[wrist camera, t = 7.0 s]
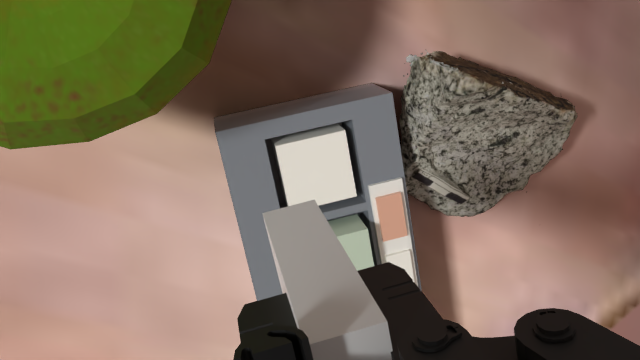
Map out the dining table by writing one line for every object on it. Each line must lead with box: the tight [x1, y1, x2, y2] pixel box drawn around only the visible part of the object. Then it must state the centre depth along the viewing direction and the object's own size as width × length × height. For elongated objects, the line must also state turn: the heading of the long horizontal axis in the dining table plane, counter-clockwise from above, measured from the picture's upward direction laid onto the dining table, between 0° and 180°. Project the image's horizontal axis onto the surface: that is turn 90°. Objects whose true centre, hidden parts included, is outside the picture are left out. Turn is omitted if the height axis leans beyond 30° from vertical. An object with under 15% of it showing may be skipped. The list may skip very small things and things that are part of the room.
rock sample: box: [400, 51, 577, 217], centre depth 29 cm, size 10×8×9 cm
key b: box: [328, 214, 374, 271], centre depth 28 cm, size 3×3×2 cm
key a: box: [271, 123, 357, 207], centre depth 28 cm, size 3×3×2 cm
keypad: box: [214, 83, 422, 301], centre depth 30 cm, size 14×8×4 cm, turn 11°
